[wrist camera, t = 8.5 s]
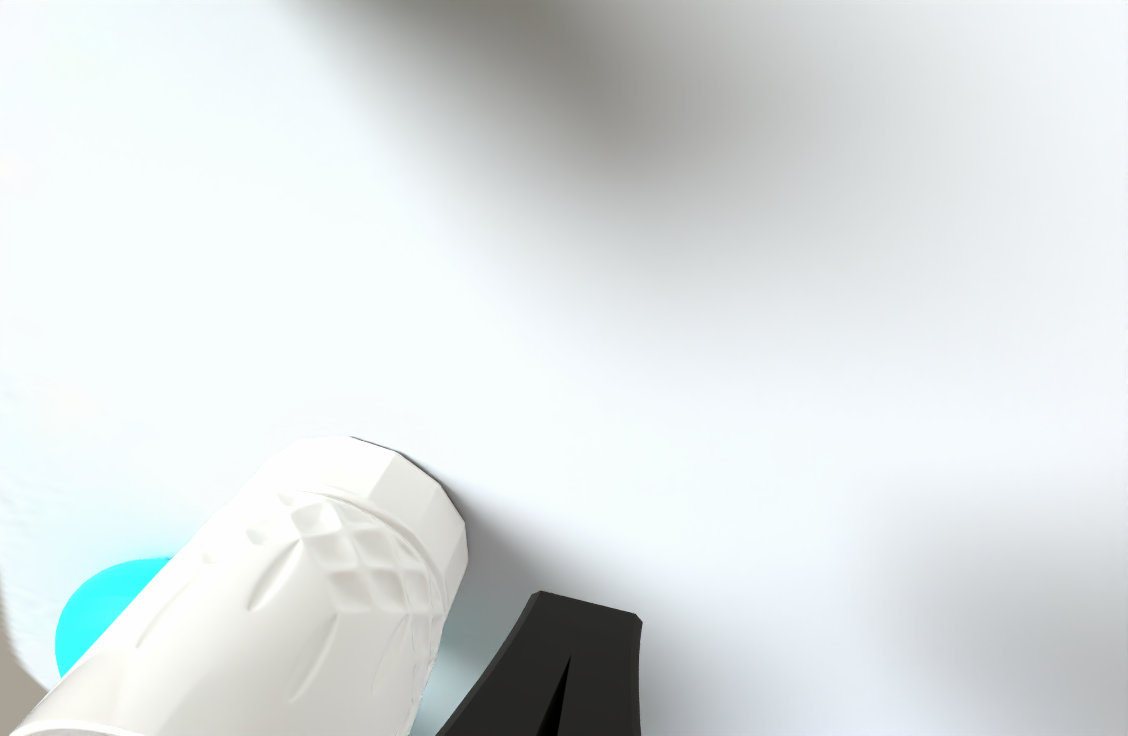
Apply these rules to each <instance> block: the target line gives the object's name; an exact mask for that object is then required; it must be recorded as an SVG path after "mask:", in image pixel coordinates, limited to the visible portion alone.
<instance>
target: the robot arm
mask: <svg viewBox="0 0 1128 736" xmlns="http://www.w3.org/2000/svg"><path fill="white" fill-rule="evenodd" d="M642 624H643V622H642V621H641V620H640V619H639V617H638V616H637V615H636V614H634V613H630V612H626V611H622V610H618V609H614V608H610V607H606V606H602V605H597V604H593V603H589V602H585V601H581V600H577V599H573V598H569V597H565V596H561V595H557V594H553V593H549V592H545V591H539V592H537V593H534V594H532V595H531V597H530V599H529V600H528V602H527V604H526V606H525V608H524V610H523V612H522V614H521V615H520V617H519V619H518V620H517V622H516V624H515V625H514V627H513V629H512V631H511V632H510V634H509V635H508V637H507V638H506V640H505V642H504V643H503V645H502V646H501V648H500V649H499V651H498V652H497V654H496V655H495V657H494V658H493V659H492V661H491V662H490V664H489V665H488V667H487V668H486V670H485V671H484V672H483V674H482V675H481V677H480V678H479V680H478V681H477V682H476V684H475V685H474V686H473V688H472V689H471V690H470V691H469V693H468V694H467V695H466V697H465V698H464V699H463V701H462V702H461V703H460V705H459V706H458V707H457V709H456V710H455V711H454V713H453V714H452V715H451V716H450V718H449V719H448V720H447V722H446V723H445V724H444V726H443V727H442V728H441V729H440V731H439V732H438V733H437V734H436V736H641V728H640V710H639V650H640V637H641V630H642Z"/></svg>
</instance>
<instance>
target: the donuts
mask: <svg viewBox="0 0 1128 736" xmlns="http://www.w3.org/2000/svg"><path fill="white" fill-rule="evenodd" d="M169 561H170V560H169V559H143V560H134V561H129V562H125V563H121V564H118V565H115V566H112V567H110V568H107V569H105V570H103V571H101V572H99V573H97V574H96V575H94V576H93V577H91V578H90V579H88V580H87V581H86V582H84V583H83V584H82V585H81V586H80V587H79V588H78V589H77V590H76V591H75V592H74V594H73V595H72V596H71V597H70V599H69V601H68V602H67V604H66V606H65V607H64V609H63V611H62V613H61V616H60V619H59V622H58V625H57V629H56V636H55V655H56V661H57V665H58V669H59V673H60V676H61V679H62V677H63V676H64V675H65V674H66V673H67V672H68V671H69V670H70V669H71V668H72V667H73V665H74V664H75V663H76V662H77V661H78V660H79V659H80V658H81V657H82V656H83V655H84V653H85V652H86V651H87V650H88V649H89V648H90V647H91V646H92V645H93V644H94V642H95V641H96V640H97V639H98V638H99V637H100V636H101V635H102V634H103V633H104V632H105V630H106V629H107V628H108V627H109V626H110V625H111V624H112V623H113V622H114V621H115V619H116V618H117V617H118V616H119V615H120V614H121V613H122V612H123V611H124V610H125V608H126V607H127V606H128V605H129V604H130V603H131V602H132V601H133V600H134V599H135V598H136V596H137V595H138V594H139V593H140V592H141V591H142V590H143V589H144V588H145V587H146V585H147V584H148V583H149V582H150V581H151V580H152V579H153V578H154V577H155V576H156V575H157V574H158V572H159V571H160V570H161V569H162V568H163V567H164V566H165V565H166V564H167V563H168V562H169Z"/></svg>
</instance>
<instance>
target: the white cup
mask: <svg viewBox="0 0 1128 736" xmlns="http://www.w3.org/2000/svg"><path fill="white" fill-rule="evenodd" d="M468 561H469V559H468V549H467V539H466V529H465V522H464V520H463V519H462V517H461V516H460V514H459V513H458V511H457V510H456V508H455V507H454V505H453V504H452V502H451V501H450V499H449V497H448V496H447V494H446V493H445V491H444V490H443V488H442V487H441V485H440V484H439V483H438V482H437V481H435V480H434V479H433V478H431V477H430V476H429V475H427V474H426V473H424V472H423V471H422V470H420V469H419V468H418V467H416V466H415V465H414V464H412V463H411V462H410V461H408V460H407V459H405V458H404V457H403V456H401V455H400V454H399V453H397V452H395V451H392V450H389V449H386V448H383V447H380V446H377V445H373V444H370V443H367V442H364V441H361V440H358V439H355V438H352V437H348V436H338V437H320V438H303V439H300V440H298V441H296V442H295V443H293V444H292V445H290V446H289V447H287V448H286V449H284V450H283V451H281V452H279V453H278V454H276V455H275V456H273V457H272V458H270V459H269V460H268V461H267V462H266V463H265V464H264V465H263V466H262V467H261V468H260V469H259V470H258V472H257V473H256V474H255V475H254V476H253V477H252V478H251V479H250V481H249V482H248V483H247V484H246V485H245V486H244V487H243V488H242V490H241V491H240V492H239V493H238V494H237V495H236V496H235V497H234V499H233V500H232V501H231V502H230V503H228V504H226V505H225V506H224V507H223V508H222V509H220V510H219V511H218V512H217V513H216V514H215V515H214V516H213V517H212V518H211V519H210V520H209V521H208V522H207V523H206V524H205V525H204V526H203V527H202V528H201V529H200V530H199V531H198V532H197V533H196V534H195V535H194V537H193V538H192V540H191V541H190V542H189V543H188V544H187V545H186V546H185V547H184V548H183V549H181V550H180V551H179V552H178V553H177V554H176V555H175V556H174V557H173V558H172V559H171V560H170V561H169V562H168V563H167V564H166V565H165V566H164V567H163V568H162V569H161V570H160V571H159V572H158V574H157V575H156V576H155V577H154V578H153V579H152V580H151V581H150V582H149V583H148V584H147V585H146V587H145V588H144V589H143V590H142V591H141V592H140V593H139V594H138V595H137V596H136V598H135V599H134V600H133V601H132V602H131V603H130V604H129V605H128V606H127V607H126V608H125V610H124V611H123V612H122V613H121V614H120V615H119V616H118V617H117V618H116V619H115V621H114V622H113V623H112V624H111V625H110V626H109V627H108V628H107V629H106V630H105V632H104V633H103V634H102V635H101V636H100V637H99V638H98V639H97V640H96V641H95V642H94V644H93V645H92V646H91V647H90V648H89V649H88V650H87V651H86V652H85V653H84V655H83V656H82V657H81V658H80V659H79V660H78V661H77V662H76V663H75V664H74V665H73V667H72V668H71V669H70V670H69V671H68V672H67V673H66V674H65V675H64V676H63V677H62V679H61V680H60V681H59V682H58V683H57V684H56V685H55V686H54V687H53V688H52V689H51V690H50V692H49V693H48V694H47V695H46V696H45V697H44V698H43V699H42V700H41V701H40V702H39V704H38V705H37V706H36V707H35V708H34V709H33V710H32V711H31V712H30V713H29V714H28V715H27V717H26V718H25V719H24V720H23V721H22V722H21V723H20V724H19V725H18V726H17V727H16V728H15V729H14V730H13V732H12V733H11V734H10V735H9V736H409V733H410V731H411V728H412V725H413V723H414V720H415V717H416V715H417V712H418V709H419V706H420V703H421V700H422V695H423V692H424V689H425V687H426V684H427V682H428V679H429V677H430V674H431V671H432V668H433V666H434V663H435V660H436V657H437V654H438V651H439V645H440V640H441V635H442V630H443V626H444V624H445V621H446V619H447V616H448V613H449V611H450V608H451V606H452V603H453V601H454V598H455V596H456V593H457V591H458V588H459V586H460V583H461V580H462V578H463V575H464V573H465V570H466V567H467V565H468Z"/></svg>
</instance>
